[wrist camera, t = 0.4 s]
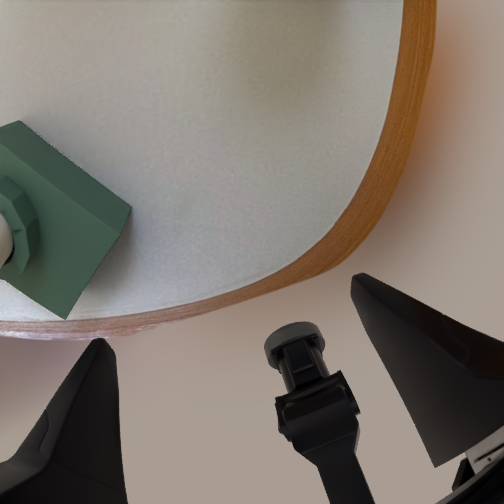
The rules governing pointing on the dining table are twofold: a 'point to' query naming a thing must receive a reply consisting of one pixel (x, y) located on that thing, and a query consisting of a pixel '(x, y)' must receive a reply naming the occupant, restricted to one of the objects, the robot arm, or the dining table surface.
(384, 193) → the dining table surface
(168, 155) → the dining table surface
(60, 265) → the green button housing
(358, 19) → the dining table surface
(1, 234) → the cream push button
